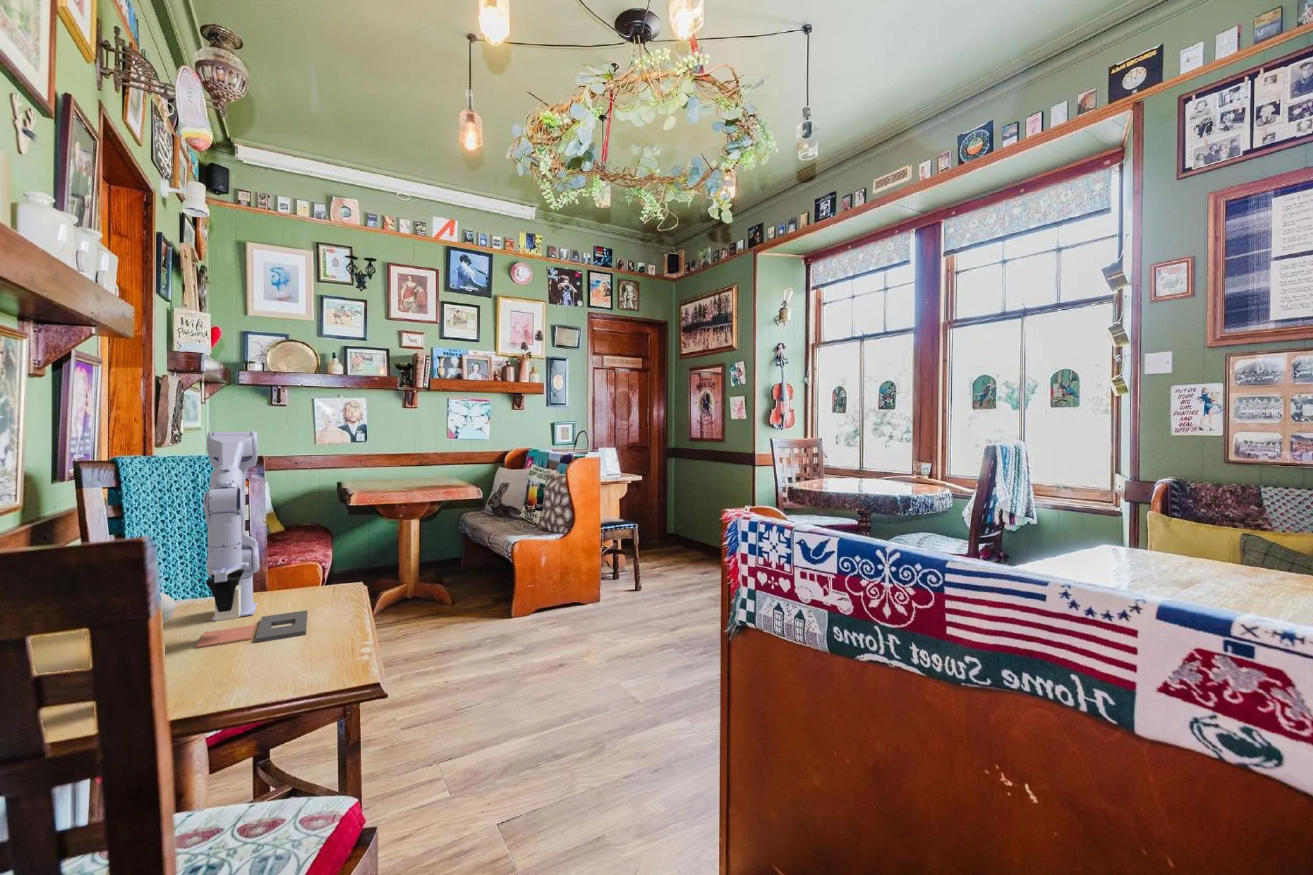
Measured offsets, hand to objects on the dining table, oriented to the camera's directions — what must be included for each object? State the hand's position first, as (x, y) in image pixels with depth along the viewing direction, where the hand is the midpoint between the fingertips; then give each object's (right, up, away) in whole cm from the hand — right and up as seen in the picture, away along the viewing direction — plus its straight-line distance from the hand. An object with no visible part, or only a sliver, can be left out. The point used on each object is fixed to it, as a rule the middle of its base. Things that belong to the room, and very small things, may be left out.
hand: (226, 608), depth 122 cm
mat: (0, -6, 0) cm, 6 cm away
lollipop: (+1, -7, -19) cm, 20 cm away
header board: (+8, -6, +6) cm, 12 cm away
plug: (0, -2, 0) cm, 2 cm away
